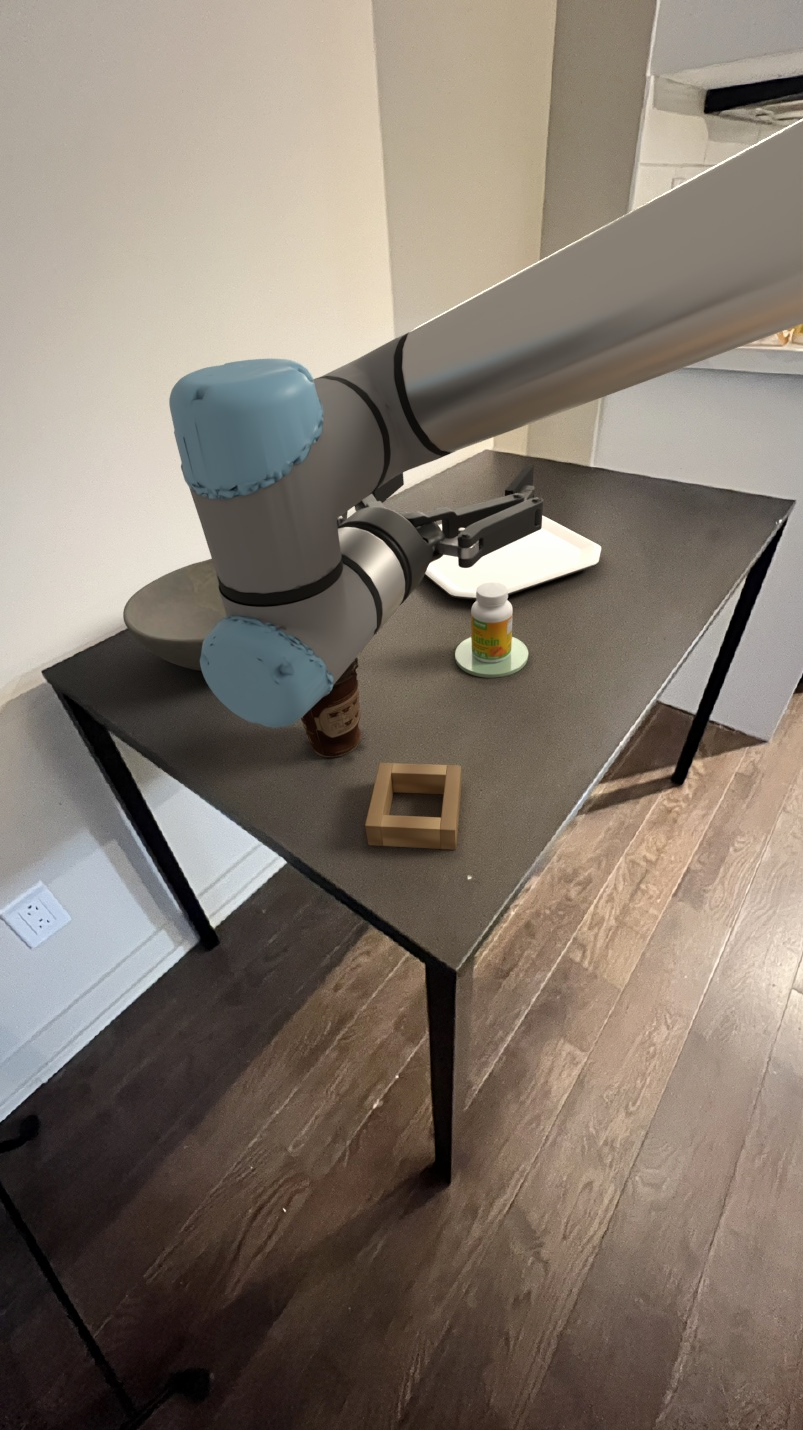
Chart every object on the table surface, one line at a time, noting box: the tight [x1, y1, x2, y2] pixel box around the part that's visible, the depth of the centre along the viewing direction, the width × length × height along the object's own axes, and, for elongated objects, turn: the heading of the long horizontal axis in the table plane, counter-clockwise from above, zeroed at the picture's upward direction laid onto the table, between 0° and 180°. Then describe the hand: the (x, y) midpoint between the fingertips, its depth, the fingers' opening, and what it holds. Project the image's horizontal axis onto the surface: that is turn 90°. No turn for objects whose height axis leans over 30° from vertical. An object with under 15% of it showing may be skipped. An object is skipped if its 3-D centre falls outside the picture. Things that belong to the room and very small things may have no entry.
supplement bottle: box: [470, 582, 513, 663], centre depth 82 cm, size 5×5×10 cm
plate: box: [424, 514, 602, 601], centre depth 108 cm, size 29×29×2 cm
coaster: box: [454, 636, 529, 679], centre depth 86 cm, size 10×10×1 cm
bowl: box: [122, 558, 226, 672], centre depth 90 cm, size 26×26×10 cm
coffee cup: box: [300, 657, 362, 758], centre depth 71 cm, size 9×8×13 cm
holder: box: [364, 762, 463, 851], centre depth 64 cm, size 9×9×3 cm
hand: (461, 475), depth 62 cm, fingers open, 13 cm apart
